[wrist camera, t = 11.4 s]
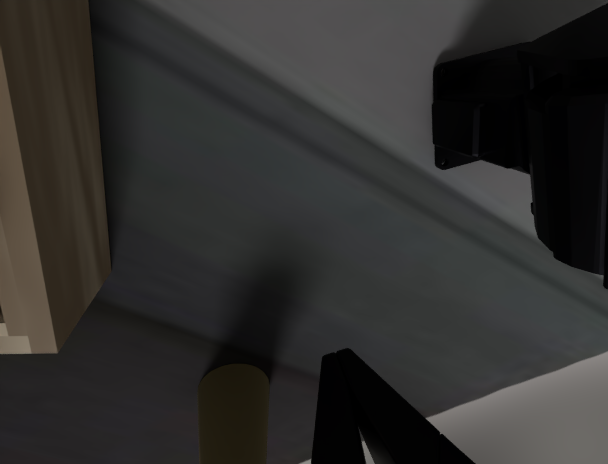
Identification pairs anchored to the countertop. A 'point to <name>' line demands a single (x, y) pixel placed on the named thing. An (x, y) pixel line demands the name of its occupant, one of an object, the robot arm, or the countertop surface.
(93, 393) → the countertop surface
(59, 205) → the button box
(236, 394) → the cork
